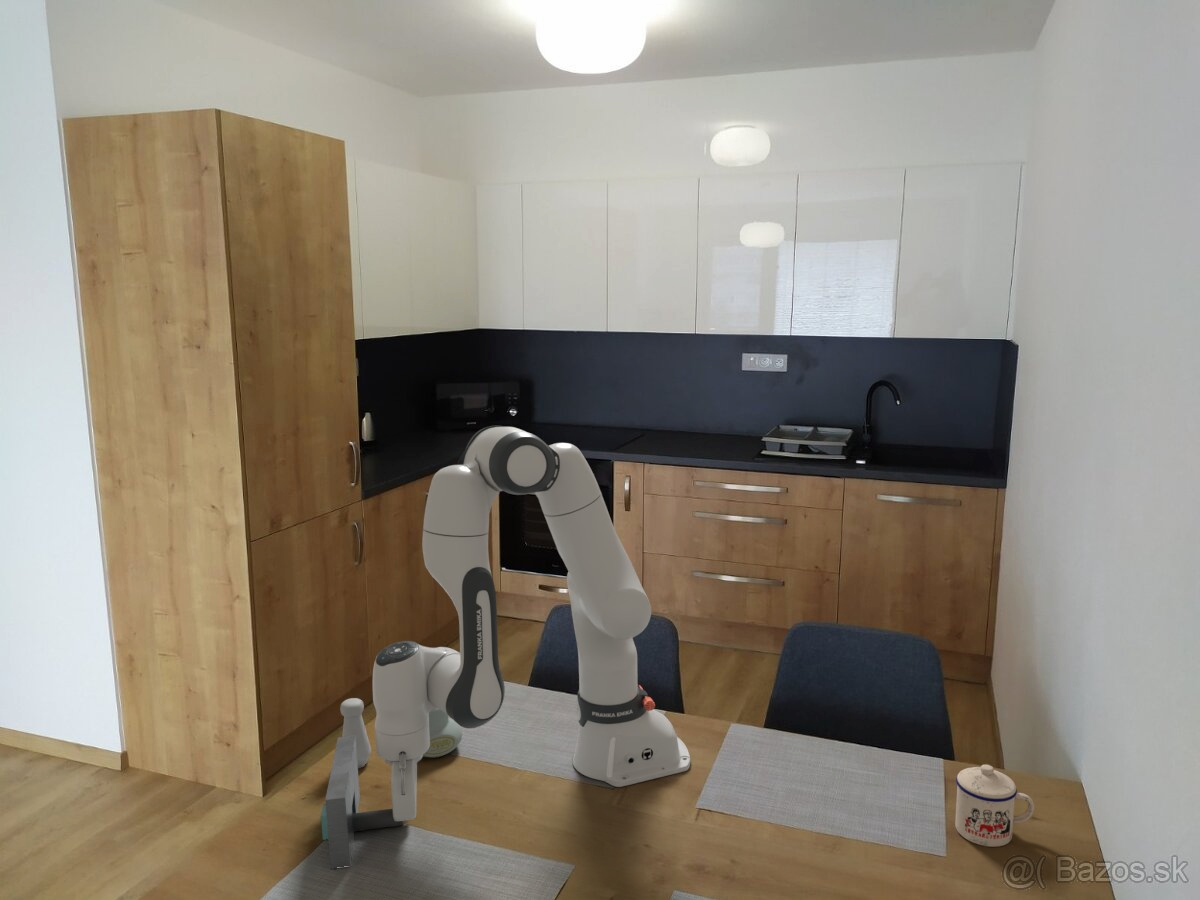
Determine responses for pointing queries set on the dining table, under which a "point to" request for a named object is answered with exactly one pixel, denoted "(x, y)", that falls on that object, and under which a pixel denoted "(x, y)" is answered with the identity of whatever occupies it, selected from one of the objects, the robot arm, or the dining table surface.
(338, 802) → the block
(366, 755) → the salt shaker
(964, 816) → the teacup with lid
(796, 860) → the dining table surface
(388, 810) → the plug
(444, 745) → the air freshener
